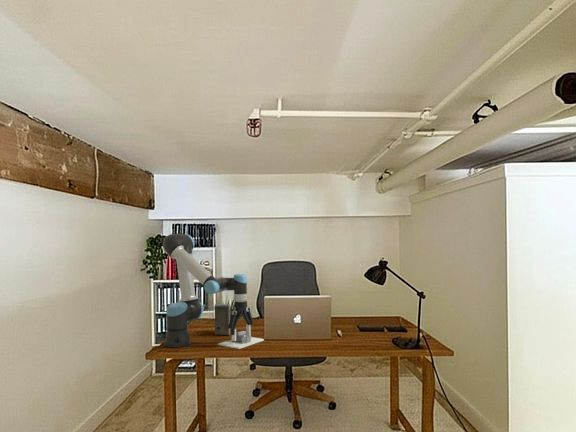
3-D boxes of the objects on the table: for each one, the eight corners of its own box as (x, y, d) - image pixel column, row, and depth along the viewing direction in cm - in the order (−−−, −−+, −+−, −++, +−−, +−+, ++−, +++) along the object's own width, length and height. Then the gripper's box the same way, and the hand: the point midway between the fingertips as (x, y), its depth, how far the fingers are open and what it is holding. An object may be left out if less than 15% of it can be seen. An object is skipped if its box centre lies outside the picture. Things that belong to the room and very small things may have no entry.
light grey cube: (242, 343, 248) (241, 333, 248) (233, 341, 252) (233, 332, 252) (249, 340, 253) (249, 331, 253) (241, 339, 257) (241, 330, 257)
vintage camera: (235, 331, 285) (234, 300, 287) (229, 335, 270) (228, 303, 271) (220, 331, 286) (219, 301, 288) (214, 336, 271) (213, 304, 272)
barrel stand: (239, 348, 239) (238, 342, 239) (218, 345, 248) (218, 338, 248) (263, 340, 257) (263, 333, 257) (243, 337, 266) (243, 330, 266)
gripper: (231, 304, 241) (231, 343, 241) (258, 298, 261) (259, 334, 260) (221, 303, 246) (222, 341, 245) (249, 297, 265) (249, 333, 264)
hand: (241, 338), depth 252 cm, fingers open, 12 cm apart
